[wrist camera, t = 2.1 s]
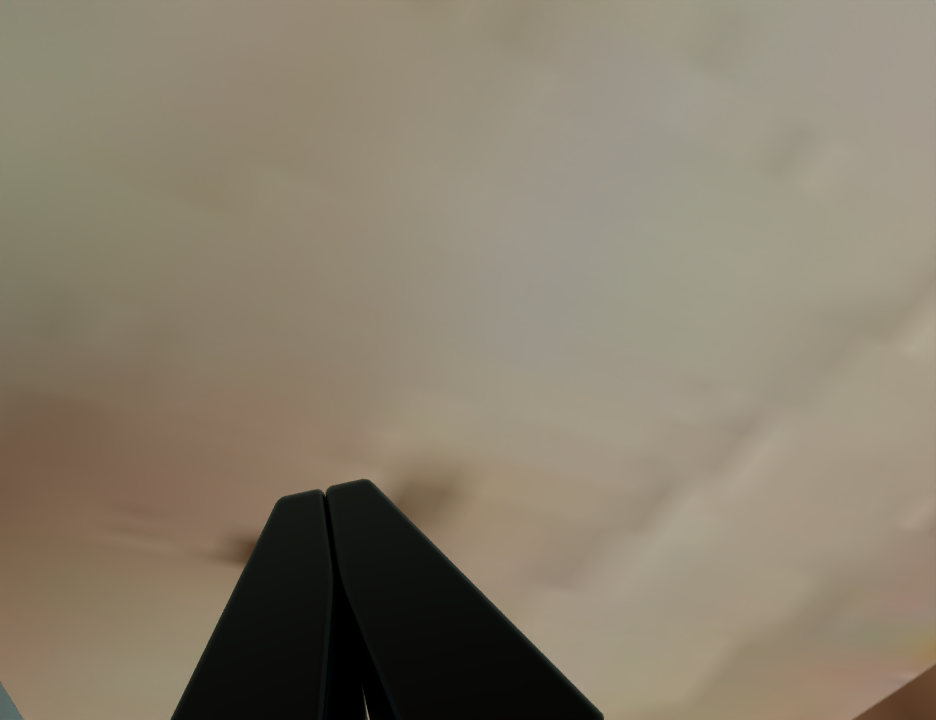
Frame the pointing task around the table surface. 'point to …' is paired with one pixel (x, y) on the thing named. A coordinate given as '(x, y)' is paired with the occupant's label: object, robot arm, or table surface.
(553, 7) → the table surface
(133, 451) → the table surface
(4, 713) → the lid
